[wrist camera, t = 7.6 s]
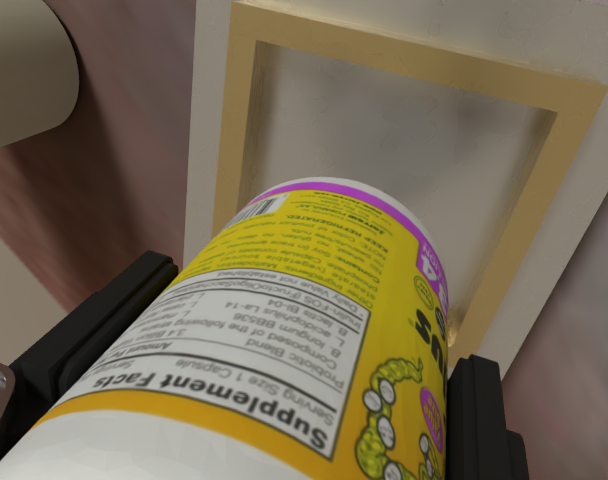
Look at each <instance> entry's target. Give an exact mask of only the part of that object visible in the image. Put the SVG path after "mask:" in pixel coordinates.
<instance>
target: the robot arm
mask: <svg viewBox="0 0 608 480" xmlns="http://www.w3.org/2000/svg"><path fill="white" fill-rule="evenodd" d="M177 276H178V266H177V265H174V264H173V260H172V258H171V257H169V256H166V255H163V254H160V253H157V252H154V251H147V252H145V253H144V254H143V255H141V256H140V257H139V258H138V259H137V260H136V261H135V262H133V263H132V264H131V265H130V266H129V267H128V268H127V269H125V270H124V271H123V272H122V273H121V274H120V275H118V276H117V277H116V278H115V279H114V280H113V281H112V282H110V283H109V284H108V285H107V286H106V287H105V288H103V289H102V290H101V291H99V292H95V293H94V294H92V295H91V296H90V297H88V298H87V299H86V300H85V301H84V302H83V303H81V304H80V305H79V306H78V307H77V308H76V309H74V310H73V311H72V312H71V313H70V314H69V315H67V316H66V317H65V318H64V319H63V320H62V321H60V322H59V323H58V324H57V325H56V326H55V327H53V328H52V329H51V330H50V331H49V332H48V333H46V334H45V335H44V336H43V337H42V338H41V339H39V340H38V341H37V342H36V343H35V344H34V345H33V346H31V347H30V348H29V349H28V350H27V351H25V353H23V354H22V355H21V356H20V357H18V358H17V359H16V360H15V361H14V362H13V363H11V364H10V365H9V366H6V365H3V364H1V363H0V461H1V460H2V459H3V458H4V457H5V456H6V454H7V453H8V452H9V451H10V450H11V449H12V448H13V447H14V446H15V445H16V444H17V443H18V442H19V441H20V440H21V438H22V437H23V436H24V435H25V434H26V433H27V432H28V431H29V430H30V429H31V428H32V427H33V426H34V425H35V424H36V422H37V421H38V420H39V419H41V418H42V417H43V416H44V415H45V414H46V413H47V412H48V411H49V410H50V409H51V408H52V407H53V406H54V405H55V404H56V403H57V402H58V401H59V400H60V398H61V397H62V396H63V395H64V394H65V393H66V392H67V391H68V390H69V389H70V388H71V387H72V386H73V385H74V384H75V383H76V382H77V381H78V380H79V379H80V378H81V377H82V376H83V375H84V374H85V373H86V372H87V371H88V370H89V368H90V367H91V366H92V365H93V364H94V363H95V362H96V361H97V360H98V359H99V358H100V357H101V356H102V355H103V354H104V353H105V352H106V351H107V350H108V349H109V348H110V347H111V346H112V345H113V344H114V342H115V341H116V340H117V339H118V338H119V337H120V336H121V335H122V334H123V333H124V332H125V331H126V330H127V329H128V328H129V327H130V326H131V325H132V324H133V323H134V322H135V321H136V320H137V319H138V317H139V316H140V315H141V314H142V313H143V312H144V311H145V310H146V309H147V308H148V307H149V306H150V305H151V304H152V303H153V302H154V301H155V300H156V298H157V297H158V296H159V295H160V294H161V293H162V292H163V291H164V290H165V289H166V288H167V287H168V286H169V285H170V284H171V283H172V281H173V280H174V279H175V278H176V277H177ZM445 480H529V473H528V466H527V459H526V452H525V445H524V441H523V438H522V436H521V435H520V434H518V433H515V432H512V431H509V430H506V423H505V414H504V405H503V395H502V386H501V377H500V368H499V364H498V362H496V361H493V360H490V359H487V358H483V357H480V356H477V355H474V354H471V355H470V356H469V357H468V359H465V358H462V357H460V358H459V360H458V361H457V363H456V366H455V368H454V370H453V372H452V374H451V376H450V378H449V380H448V382H447V419H446V463H445Z"/></svg>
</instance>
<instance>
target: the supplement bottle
mask: <svg viewBox="0 0 608 480" xmlns="http://www.w3.org/2000/svg"><path fill="white" fill-rule="evenodd" d="M448 305H449V303H448V284H447V276H446V270H445V266H444V263H443V260H442V257H441V254H440V252H439V250H438V248H437V246H436V244H435V242H434V240H433V238H432V237H431V235H430V233H429V232H428V231H427V229H426V228H425V227H424V225H423V224H422V223H421V222H420V220H419V219H418V218H417V217H416V216H415V215H414V214H413V213H412V212H411V211H409V210H408V209H407V208H406V207H405V206H404V205H403V204H401V203H400V202H399V201H397V200H396V199H394V198H393V197H391V196H389V195H388V194H386V193H384V192H383V191H381V190H378V189H376V188H374V187H372V186H369V185H367V184H364V183H361V182H358V181H354V180H349V179H342V178H334V177H308V178H301V179H296V180H292V181H288V182H285V183H282V184H279V185H276V186H274V187H272V188H270V189H268V190H267V191H265V192H263V193H262V194H260V195H259V196H257V197H256V198H254V199H253V200H252V201H251V202H250V203H249V204H248V205H246V206H245V207H244V208H243V209H242V210H241V211H240V212H239V213H238V214H237V215H236V216H235V217H234V218H233V219H232V220H231V221H230V222H229V223H228V224H227V225H226V226H225V227H224V228H223V229H222V230H221V231H220V232H219V233H218V234H217V235H216V236H215V237H214V239H213V240H211V242H210V243H209V244H208V245H207V246H206V247H205V248H204V249H203V250H202V251H201V252H200V253H199V254H198V255H197V256H196V257H195V258H194V259H193V260H192V262H191V263H190V264H189V265H188V266H187V267H186V268H185V269H184V270H183V271H182V272H181V273H180V274H179V275H178V276H177V277H176V278H175V279H174V280H173V281H172V283H171V284H170V285H169V286H168V287H167V288H166V289H165V290H164V291H163V292H162V293H161V294H160V295H159V296H158V297H157V298H156V300H155V301H154V302H153V303H152V304H151V305H150V306H149V307H148V308H147V309H146V310H145V311H144V312H143V313H142V314H141V315H140V316H139V317H138V319H137V320H136V321H135V322H134V323H133V324H132V325H131V326H130V327H129V328H128V329H127V330H126V331H125V332H124V333H123V334H122V335H121V336H120V337H119V338H118V339H117V340H116V341H115V342H114V344H113V345H112V346H111V347H110V348H109V349H108V350H107V351H106V352H105V353H104V354H103V355H102V356H101V357H100V358H99V359H98V360H97V361H96V362H95V363H94V364H93V365H92V366H91V367H90V368H89V370H88V371H87V372H86V373H85V374H84V375H83V376H82V377H81V378H80V379H79V380H78V381H77V382H76V383H75V384H74V385H73V386H72V387H71V388H70V389H69V390H68V391H67V392H66V393H65V394H64V395H63V396H62V397H61V398H60V400H59V401H58V402H57V403H56V404H55V405H54V406H53V407H52V408H51V409H50V410H49V411H48V412H47V413H46V414H45V415H44V416H43V417H42V418H41V419H39V420H38V421H37V422H36V424H35V425H34V426H33V427H32V428H31V429H30V430H29V431H28V432H27V433H26V434H25V435H24V436H23V437H22V438H21V440H20V441H19V442H18V443H17V444H16V445H15V446H14V447H13V448H12V449H11V450H10V451H9V452H8V453H7V454H6V456H5V457H4V458H3V459H2V460H1V461H0V480H445V463H446V419H447V378H448Z"/></svg>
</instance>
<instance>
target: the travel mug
mask: <svg viewBox="0 0 608 480" xmlns="http://www.w3.org/2000/svg"><path fill="white" fill-rule="evenodd" d="M78 90H79V73H78V66H77V61H76V57H75V54H74V50H73V48H72V45H71V42H70V40H69V38H68V36H67V34H66V32H65V30H64V28H63V26H62V25H61V23H60V21H59V20H58V18H57V17H56V16H55V14H54V13H53V12H52V11H51V9H50V8H49V7H48V6H47V5H46V4H45V3H44V2H43V1H42V0H0V147H3V146H5V145H8V144H11V143H14V142H16V141H19V140H22V139H25V138H27V137H30V136H33V135H36V134H38V133H41V132H44V131H46V130H49V129H52V128H54V127H57V126H58V125H60V124H62V123H63V122H64V121H65V120H66V119H67V118H68V117H69V115H70V114H71V112H72V111H73V109H74V107H75V104H76V101H77V97H78Z"/></svg>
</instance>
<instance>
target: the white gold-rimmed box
mask: <svg viewBox="0 0 608 480" xmlns="http://www.w3.org/2000/svg"><path fill="white" fill-rule="evenodd" d="M308 177H334V178H342V179H349V180H354V181H358V182H361V183H364V184H367V185H369V186H372V187H374V188H376V189H378V190H381V191H383V192H384V193H386V194H388V195H389V196H391V197H393V198H394V199H396V200H397V201H399V202H400V203H401V204H403V205H404V206H405V207H406V208H407V209H408V210H409V211H411V212H412V213H413V214H414V215H415V216H416V217H417V218H418V219H419V220H420V222H421V223H422V224H423V225H424V227H425V228H426V229H427V231H428V232H429V233H430V235H431V237H432V238H433V240H434V242H435V244H436V246H437V248H438V250H439V252H440V254H441V257H442V260H443V263H444V266H445V270H446V276H447V284H448V303H449V305H448V378H447V379H449V378H450V376H451V374H452V372H453V370H454V368H455V366H456V363H457V361H458V360H459V358H460V357H462V358H465V359H468V357H469V356H470V355H471V354H474V355H477V356H480V357H483V358H487V359H490V360H493V361H496V362H498V364H499V368H500V377H501V381H502V379H503V377H504V376H505V374H506V372H507V370H508V368H509V367H510V365H511V363H512V361H513V360H514V358H515V356H516V354H517V352H518V351H519V349H520V347H521V345H522V344H523V342H524V340H525V338H526V336H527V335H528V333H529V331H530V329H531V328H532V326H533V324H534V322H535V320H536V319H537V317H538V315H539V313H540V311H541V310H542V308H543V306H544V304H545V303H546V301H547V299H548V297H549V295H550V294H551V292H552V290H553V288H554V287H555V285H556V283H557V281H558V279H559V278H560V276H561V274H562V272H563V271H564V269H565V267H566V265H567V263H568V262H569V260H570V258H571V256H572V255H573V253H574V251H575V249H576V247H577V246H578V244H579V242H580V240H581V239H582V237H583V235H584V233H585V231H586V230H587V228H588V226H589V224H590V223H591V221H592V219H593V217H594V215H595V214H596V212H597V210H598V208H599V207H600V205H601V203H602V201H603V199H604V198H605V196H606V194H607V192H608V6H605V5H600V4H595V3H590V2H585V1H580V0H197V5H196V25H195V44H194V64H193V84H192V103H191V123H190V143H189V163H188V182H187V202H186V222H185V241H184V261H183V270H184V269H185V268H186V267H187V266H188V265H189V264H190V263H191V262H192V260H193V259H194V258H195V257H196V256H197V255H198V254H199V253H200V252H201V251H202V250H203V249H204V248H205V247H206V246H207V245H208V244H209V243H210V242H211V240H213V239H214V237H215V236H216V235H217V234H218V233H219V232H220V231H221V230H222V229H223V228H224V227H225V226H226V225H227V224H228V223H229V222H230V221H231V220H232V219H233V218H234V217H235V216H236V215H237V214H238V213H239V212H240V211H241V210H242V209H243V208H244V207H245V206H246V205H248V204H249V203H250V202H251V201H252V200H253V199H254V198H256V197H257V196H259V195H260V194H262V193H263V192H265V191H267V190H268V189H270V188H272V187H274V186H276V185H279V184H282V183H285V182H288V181H292V180H296V179H301V178H308Z"/></svg>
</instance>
